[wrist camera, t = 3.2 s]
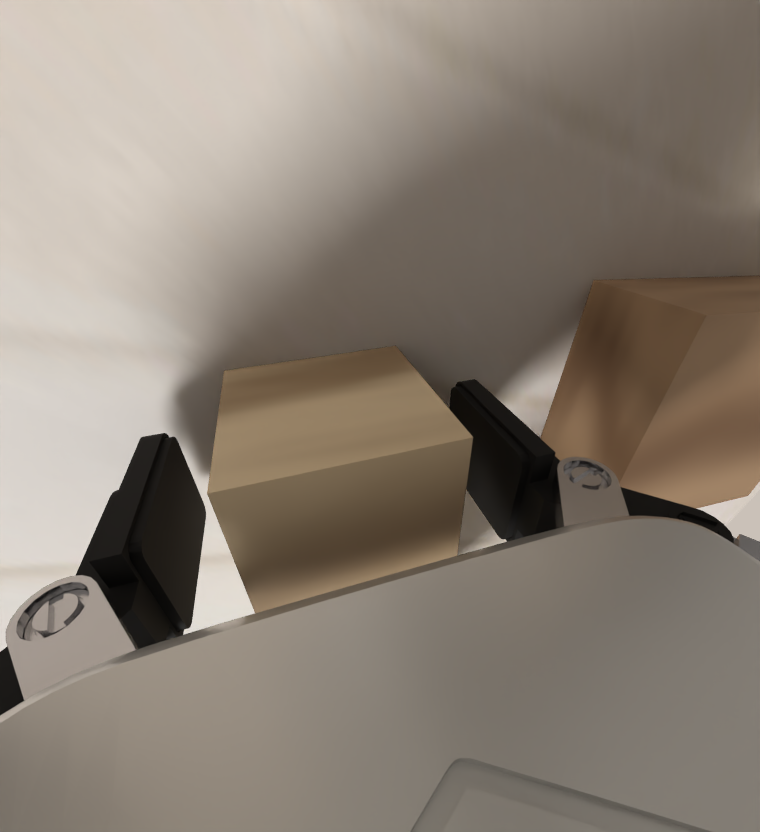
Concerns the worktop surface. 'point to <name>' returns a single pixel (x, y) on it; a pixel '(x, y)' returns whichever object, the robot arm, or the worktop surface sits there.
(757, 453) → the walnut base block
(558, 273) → the worktop surface
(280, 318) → the worktop surface
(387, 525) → the oak cube
